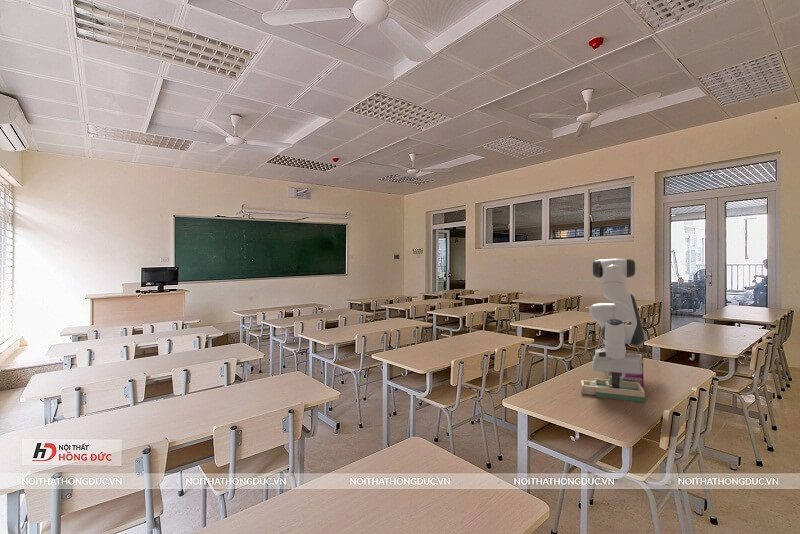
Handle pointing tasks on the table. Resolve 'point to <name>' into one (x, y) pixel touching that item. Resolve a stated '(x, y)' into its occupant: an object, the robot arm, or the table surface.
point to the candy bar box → (635, 377)
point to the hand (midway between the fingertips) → (615, 380)
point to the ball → (593, 383)
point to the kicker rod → (614, 381)
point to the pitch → (614, 390)
